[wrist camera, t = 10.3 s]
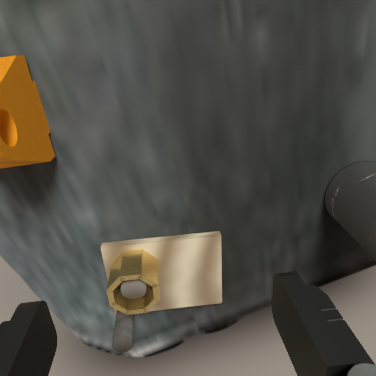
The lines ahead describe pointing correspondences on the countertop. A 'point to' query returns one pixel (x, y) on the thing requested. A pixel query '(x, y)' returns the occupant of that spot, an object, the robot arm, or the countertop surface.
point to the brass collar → (131, 270)
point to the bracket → (21, 117)
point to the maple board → (170, 275)
